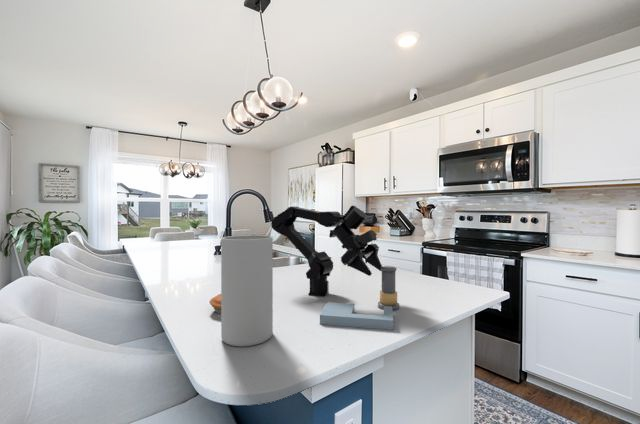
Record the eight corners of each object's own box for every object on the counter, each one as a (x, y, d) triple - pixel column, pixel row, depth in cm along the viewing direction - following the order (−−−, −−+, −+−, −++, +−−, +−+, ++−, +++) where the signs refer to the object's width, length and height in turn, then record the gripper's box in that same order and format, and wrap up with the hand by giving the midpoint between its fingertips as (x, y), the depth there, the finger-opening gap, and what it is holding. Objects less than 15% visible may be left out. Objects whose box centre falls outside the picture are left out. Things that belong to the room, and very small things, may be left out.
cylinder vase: (224, 352, 67) (224, 240, 67) (219, 331, 78) (219, 236, 78) (278, 342, 72) (278, 238, 72) (266, 324, 83) (266, 234, 83)
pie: (198, 315, 91) (198, 298, 91) (230, 300, 106) (230, 286, 106) (240, 322, 85) (240, 304, 85) (268, 306, 100) (268, 291, 100)
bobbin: (377, 309, 95) (377, 269, 95) (378, 303, 102) (378, 265, 102) (399, 311, 94) (399, 270, 94) (398, 304, 101) (398, 266, 101)
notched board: (319, 323, 84) (319, 315, 84) (327, 310, 95) (327, 302, 95) (393, 329, 79) (393, 320, 79) (392, 314, 91) (392, 306, 91)
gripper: (348, 223, 96) (381, 260, 90) (373, 221, 111) (402, 253, 105) (328, 246, 100) (358, 283, 94) (355, 241, 116) (382, 273, 109)
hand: (376, 272), depth 100 cm, fingers open, 9 cm apart
